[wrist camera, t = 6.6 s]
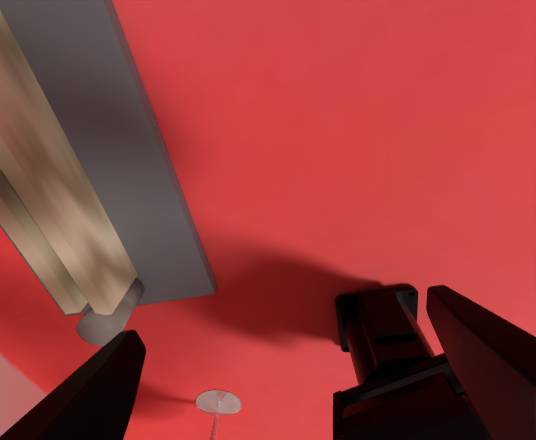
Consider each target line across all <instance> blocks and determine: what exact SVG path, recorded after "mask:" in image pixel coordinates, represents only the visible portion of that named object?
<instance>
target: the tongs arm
mask: <svg viewBox="0 0 536 440" xmlns="http://www.w3.org/2000/svg"><path fill="white" fill-rule="evenodd" d="M0 224H1V226H2V227H3V228H4V230H5V231H6V233H7V234H8V235H9V237H10V238H11V239H12V241H13V242H14V244H15V245H16V246H17V248H18V249H19V251H20V252H21V253H22V255H23V256H24V257H25V259H26V260H27V262H28V263H29V264H30V266H31V267H32V268H33V270H34V271H35V273H36V274H37V275H38V277H39V278H40V280H41V281H42V282H43V284H44V285H45V286H46V288H47V289H48V291H49V292H50V293H51V295H52V296H53V298H54V299H55V300H56V302H57V303H58V304H59V306H60V307H61V309H62V310H63V311H64V313H65V314H71V313H78V312H81V310H82V309H83V308H84V307H85V305H86V304H87V303H88V301H87V299H86V298H85V296H84V295H83V293H82V292H81V290H80V289H79V287H78V286H77V284H76V283H75V281H74V280H73V278H72V277H71V275H70V274H69V272H68V271H67V269H66V268H65V266H64V264H63V263H62V261H61V260H60V258H59V257H58V255H57V254H56V252H55V251H54V249H53V248H52V246H51V245H50V243H49V242H48V240H47V239H46V237H45V236H44V234H43V233H42V231H41V229H40V228H39V226H38V225H37V223H36V222H35V220H34V219H33V217H32V216H31V214H30V213H29V211H28V210H27V208H26V207H25V205H24V204H23V202H22V201H21V199H20V198H19V196H18V194H17V193H16V191H15V190H14V188H13V187H12V185H11V184H10V182H9V181H8V179H7V178H6V176H5V175H4V173H3V172H2V170H1V169H0Z"/></svg>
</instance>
